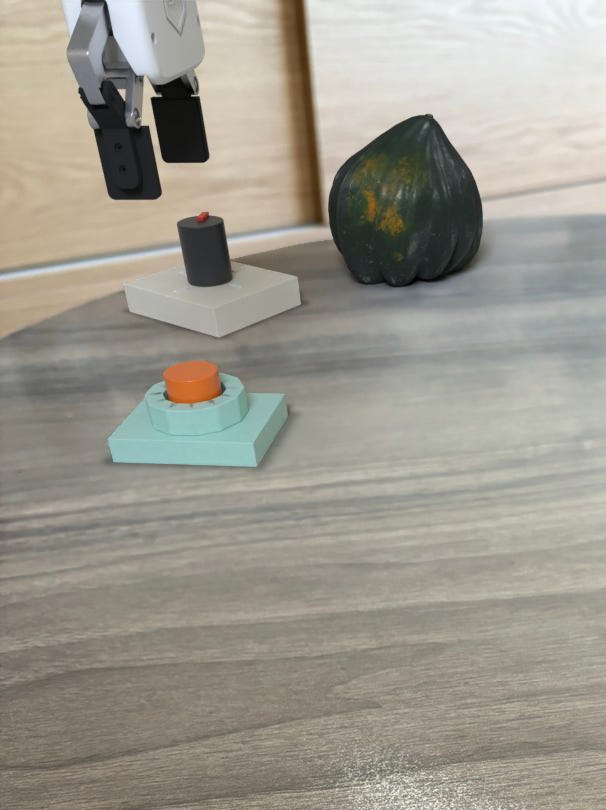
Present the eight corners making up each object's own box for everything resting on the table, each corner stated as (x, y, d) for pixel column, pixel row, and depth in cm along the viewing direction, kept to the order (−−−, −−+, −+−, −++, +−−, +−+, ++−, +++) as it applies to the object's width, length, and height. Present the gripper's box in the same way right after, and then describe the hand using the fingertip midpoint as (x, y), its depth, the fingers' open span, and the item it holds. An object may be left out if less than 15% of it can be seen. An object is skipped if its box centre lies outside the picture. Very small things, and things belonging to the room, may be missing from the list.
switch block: (114, 468, 70) (100, 413, 67) (157, 418, 76) (145, 366, 74) (258, 473, 69) (248, 417, 66) (289, 421, 75) (281, 369, 73)
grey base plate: (130, 316, 94) (122, 281, 92) (213, 286, 100) (207, 253, 98) (219, 343, 88) (213, 306, 86) (301, 309, 94) (297, 274, 92)
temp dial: (226, 286, 91) (216, 223, 87) (182, 286, 91) (169, 224, 88) (237, 272, 94) (227, 211, 91) (194, 272, 94) (183, 211, 91)
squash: (275, 229, 96) (361, 99, 87) (351, 197, 107) (435, 79, 98) (382, 342, 98) (478, 227, 88) (446, 299, 109) (537, 193, 100)
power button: (160, 405, 69) (155, 380, 68) (179, 384, 72) (174, 359, 71) (212, 407, 68) (207, 382, 67) (229, 385, 71) (224, 361, 70)
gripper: (104, -161, 49) (176, 215, 59) (211, -155, 63) (254, 149, 73) (-46, -156, 50) (51, 215, 60) (92, -151, 63) (152, 150, 74)
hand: (162, 179), depth 66 cm, fingers open, 9 cm apart
